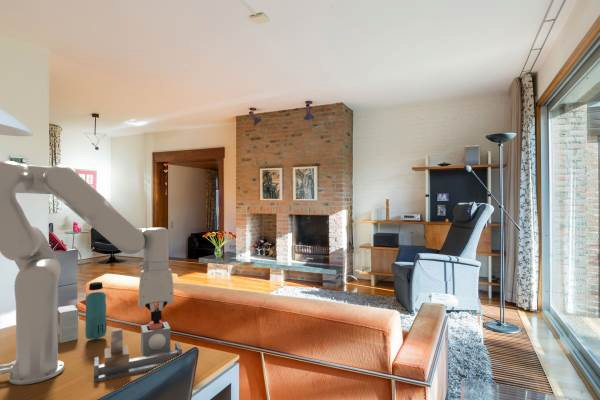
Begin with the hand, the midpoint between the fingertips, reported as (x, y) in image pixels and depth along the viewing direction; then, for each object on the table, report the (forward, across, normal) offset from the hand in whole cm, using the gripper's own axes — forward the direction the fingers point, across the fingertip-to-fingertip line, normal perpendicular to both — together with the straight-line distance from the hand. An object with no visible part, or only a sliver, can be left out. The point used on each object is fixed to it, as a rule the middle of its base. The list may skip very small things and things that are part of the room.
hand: (156, 322), depth 115 cm
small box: (+10, -26, +27) cm, 39 cm away
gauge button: (+3, 0, 0) cm, 3 cm away
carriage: (+7, -12, -9) cm, 16 cm away
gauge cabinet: (+9, 0, 0) cm, 9 cm away
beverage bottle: (+10, -17, +20) cm, 28 cm away
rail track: (+9, -6, -9) cm, 14 cm away
